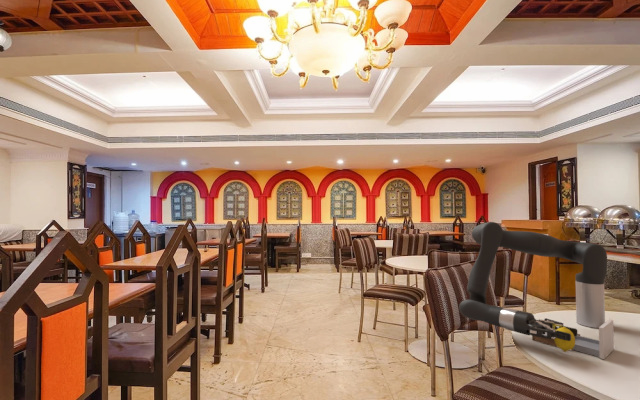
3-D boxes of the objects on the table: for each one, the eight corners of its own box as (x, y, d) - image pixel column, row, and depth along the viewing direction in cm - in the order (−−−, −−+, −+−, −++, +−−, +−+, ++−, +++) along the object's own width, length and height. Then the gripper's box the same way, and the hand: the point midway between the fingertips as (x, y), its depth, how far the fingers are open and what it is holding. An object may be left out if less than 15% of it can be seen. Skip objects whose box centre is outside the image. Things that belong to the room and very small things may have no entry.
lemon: (579, 356, 106) (578, 330, 106) (559, 355, 107) (558, 329, 107) (569, 348, 111) (569, 324, 111) (551, 347, 112) (550, 323, 112)
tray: (574, 338, 123) (573, 311, 124) (613, 349, 114) (613, 319, 115) (561, 347, 116) (561, 318, 116) (603, 359, 107) (602, 328, 107)
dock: (545, 332, 131) (545, 325, 131) (580, 341, 122) (580, 334, 122) (532, 340, 123) (532, 333, 123) (568, 350, 114) (568, 343, 114)
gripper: (507, 314, 116) (565, 328, 102) (524, 306, 125) (581, 318, 111) (507, 336, 116) (566, 353, 102) (525, 326, 125) (581, 341, 111)
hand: (573, 335), depth 107 cm, fingers closed on lemon, 5 cm apart
